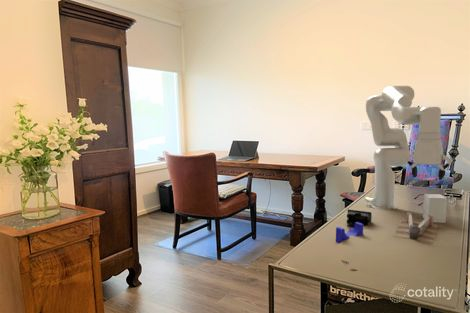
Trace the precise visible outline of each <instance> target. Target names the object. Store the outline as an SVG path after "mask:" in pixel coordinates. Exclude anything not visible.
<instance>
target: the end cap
mask: <svg viewBox="0 0 470 313" xmlns="http://www.w3.org/2000/svg"><path fill="white" fill-rule="evenodd" d="M372 216H373V215H372V211H365V210H356V209H349V208H348V209H347V214H346V218H347V219H346V227H347V228H348V227H349V228H354V226H355V223H356V222H359V223H361V224H363V227H369V225H370V224H372V218H373V217H372Z"/></svg>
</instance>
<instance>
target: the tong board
mask: <svg viewBox="0 0 470 313" xmlns="http://www.w3.org/2000/svg"><path fill="white" fill-rule="evenodd" d="M421 222H422V221H414V220H412V224H413V225H410V234H409V227H408V222H407V219H404V218H403V219H401V221H400V222H399V225H398V227H397V229H396V230H395V231H394V235H393V237H396V238H401V239H407V240H410V241H411V240H413V241H418V242H424V243H429V244H435V239H436V235H437V231H438V226H439V225H438V224H434V223H433V224H432V225H429V227H428V228H427V229H426V230H425V231H424V232H423V233H422V234H421V235H420V236H418V225H419V224H420V223H421Z"/></svg>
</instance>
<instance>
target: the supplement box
mask: <svg viewBox="0 0 470 313" xmlns="http://www.w3.org/2000/svg"><path fill="white" fill-rule="evenodd" d="M423 194H424V195H423V202H424V203H423V207H422V208H423V209H422V218H423V220H424V219H425V218H426V217H427V216H428V215H430V216H433V223H446V221H447V208H448V206H447V205H448V204H447V203H448V197H444V196H445V195H442V194H436V193H435V194H434V193H433V194H431V193H428V194H427V193H423Z"/></svg>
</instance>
